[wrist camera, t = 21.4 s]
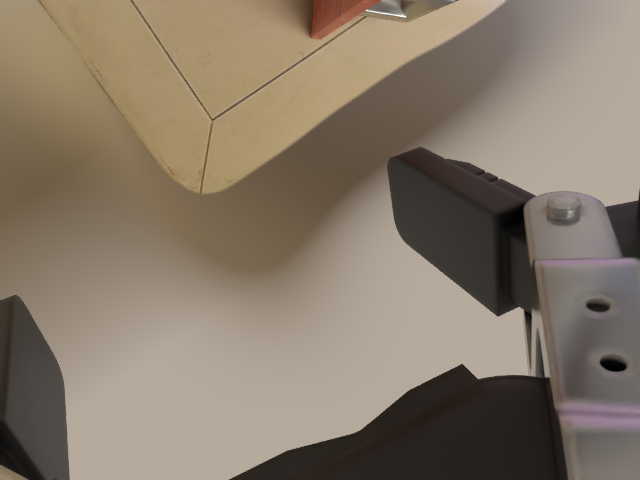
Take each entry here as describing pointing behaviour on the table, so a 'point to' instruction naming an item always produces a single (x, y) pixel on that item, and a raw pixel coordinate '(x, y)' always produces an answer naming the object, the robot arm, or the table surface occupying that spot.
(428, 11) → the door
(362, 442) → the robot arm
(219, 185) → the table surface
